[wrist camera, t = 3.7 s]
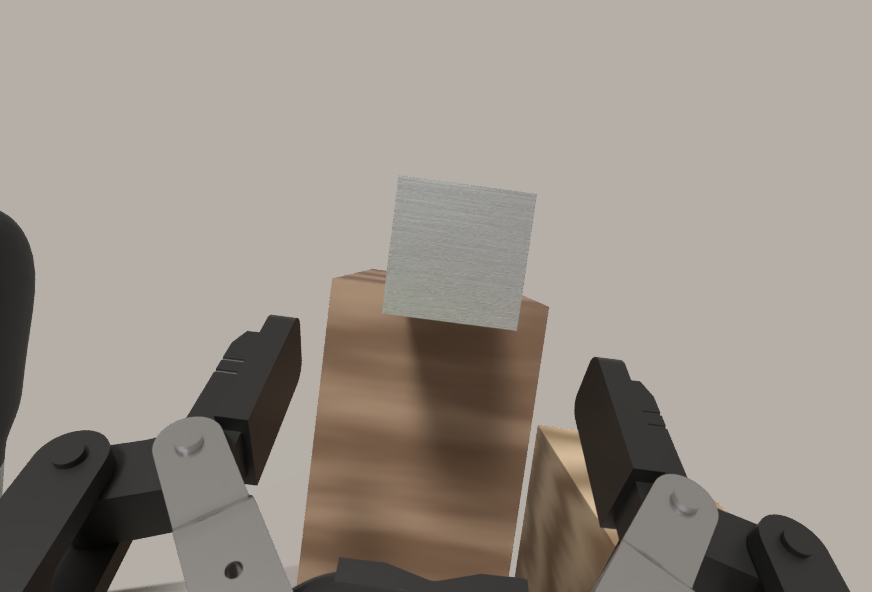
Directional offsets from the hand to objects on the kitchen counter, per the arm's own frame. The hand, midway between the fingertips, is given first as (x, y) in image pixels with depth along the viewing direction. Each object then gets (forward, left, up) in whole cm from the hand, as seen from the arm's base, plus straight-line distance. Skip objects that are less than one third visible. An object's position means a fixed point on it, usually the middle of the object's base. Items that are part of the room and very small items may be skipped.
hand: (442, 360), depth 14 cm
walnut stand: (-9, +15, -31) cm, 35 cm away
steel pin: (-6, +11, +1) cm, 12 cm away
